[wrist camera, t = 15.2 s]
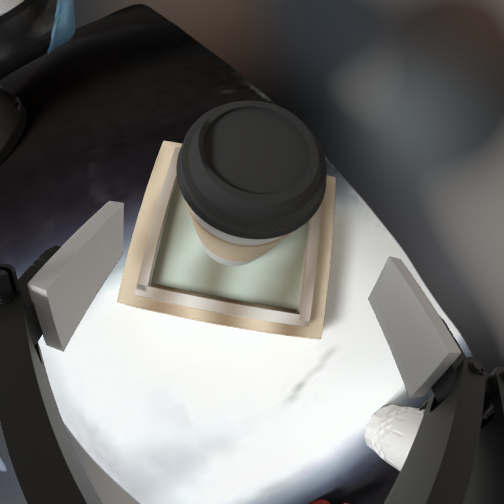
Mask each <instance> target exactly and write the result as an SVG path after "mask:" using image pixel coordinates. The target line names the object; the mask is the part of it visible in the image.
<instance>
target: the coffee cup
mask: <svg viewBox="0 0 504 504" xmlns="http://www.w3.org/2000/svg"><path fill="white" fill-rule="evenodd" d="M176 172H177V180H178V184H179V188H180V190H181V193H182V195H183V197H184V199H185V203H186V206H187V209H188V211H189V214H190V217H191V219H192V222H193V225H194V227H195V230H196V233H197V235H198V237H199V239H200V241H201V244H202V246H203V248H204V250H205V251H206V253H207V254H208V255H209V256H210V257H211V258H212V259H213V260H215V261H216V262H218V263H221V264H223V265H227V266H242V265H246V264H248V263H250V262H252V261H254V260H255V259H256V258H258V257H260V256H262V255H263V254H265V253H266V252H268V251H269V250H270V249H271V248H273V247H274V246H275V245H277V244H278V243H279V242H281V241H282V240H283V239H285V238H286V237H287V236H288V235H290V234H291V233H292V232H293V231H295V230H297V229H299V228H300V227H302V226H303V225H304V224H306V223H307V222H308V221H309V220H310V219H311V218H312V217H313V216H314V214H315V213H316V212H317V210H318V209H319V207H320V205H321V203H322V201H323V198H324V195H325V190H326V179H327V167H326V161H325V157H324V153H323V151H322V148H321V146H320V144H319V142H318V140H317V139H316V137H315V136H314V134H313V133H312V132H311V131H310V129H309V128H308V127H307V126H306V125H305V124H304V123H303V122H302V121H301V120H300V119H299V118H297V117H296V116H295V115H294V114H292V113H290V112H289V111H287V110H286V109H283V108H282V107H279V106H277V105H274V104H270V103H266V102H260V101H237V102H232V103H227V104H224V105H221V106H219V107H216V108H214V109H212V110H210V111H209V112H207V113H206V114H204V115H203V116H202V117H200V118H199V119H198V120H197V121H196V122H195V123H194V124H193V126H192V127H191V128H190V130H189V131H188V133H187V135H186V137H185V139H184V142H183V144H182V146H181V148H180V151H179V154H178V158H177V166H176Z"/></svg>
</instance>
